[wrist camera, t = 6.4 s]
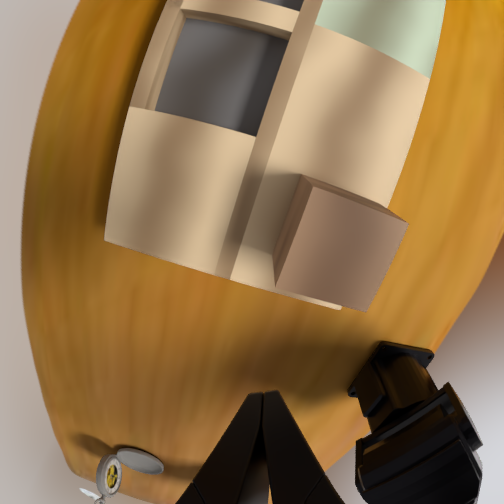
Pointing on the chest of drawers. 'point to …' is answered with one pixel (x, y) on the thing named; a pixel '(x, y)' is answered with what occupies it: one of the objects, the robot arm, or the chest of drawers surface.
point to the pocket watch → (131, 458)
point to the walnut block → (335, 245)
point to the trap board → (264, 122)
